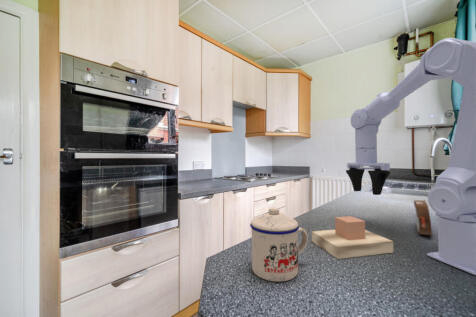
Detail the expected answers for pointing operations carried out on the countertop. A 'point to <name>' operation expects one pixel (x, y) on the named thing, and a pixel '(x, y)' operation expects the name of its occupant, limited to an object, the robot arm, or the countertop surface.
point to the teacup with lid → (276, 246)
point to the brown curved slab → (422, 218)
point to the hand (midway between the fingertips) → (366, 192)
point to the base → (352, 244)
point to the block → (350, 228)
